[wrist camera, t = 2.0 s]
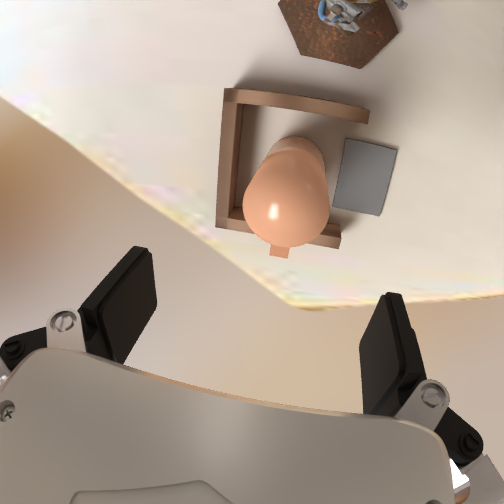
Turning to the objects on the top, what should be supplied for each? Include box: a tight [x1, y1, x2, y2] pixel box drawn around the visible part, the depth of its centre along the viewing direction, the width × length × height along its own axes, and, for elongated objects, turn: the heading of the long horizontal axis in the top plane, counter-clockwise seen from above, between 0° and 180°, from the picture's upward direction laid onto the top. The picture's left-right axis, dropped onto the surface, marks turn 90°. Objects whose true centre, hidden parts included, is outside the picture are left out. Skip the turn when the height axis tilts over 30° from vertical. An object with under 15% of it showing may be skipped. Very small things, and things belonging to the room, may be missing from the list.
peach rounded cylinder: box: [243, 136, 330, 258], centre depth 24 cm, size 6×8×11 cm
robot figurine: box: [278, 0, 408, 69], centre depth 15 cm, size 11×9×12 cm
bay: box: [215, 88, 370, 249], centre depth 27 cm, size 12×13×3 cm
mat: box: [332, 138, 397, 216], centre depth 27 cm, size 5×7×1 cm
